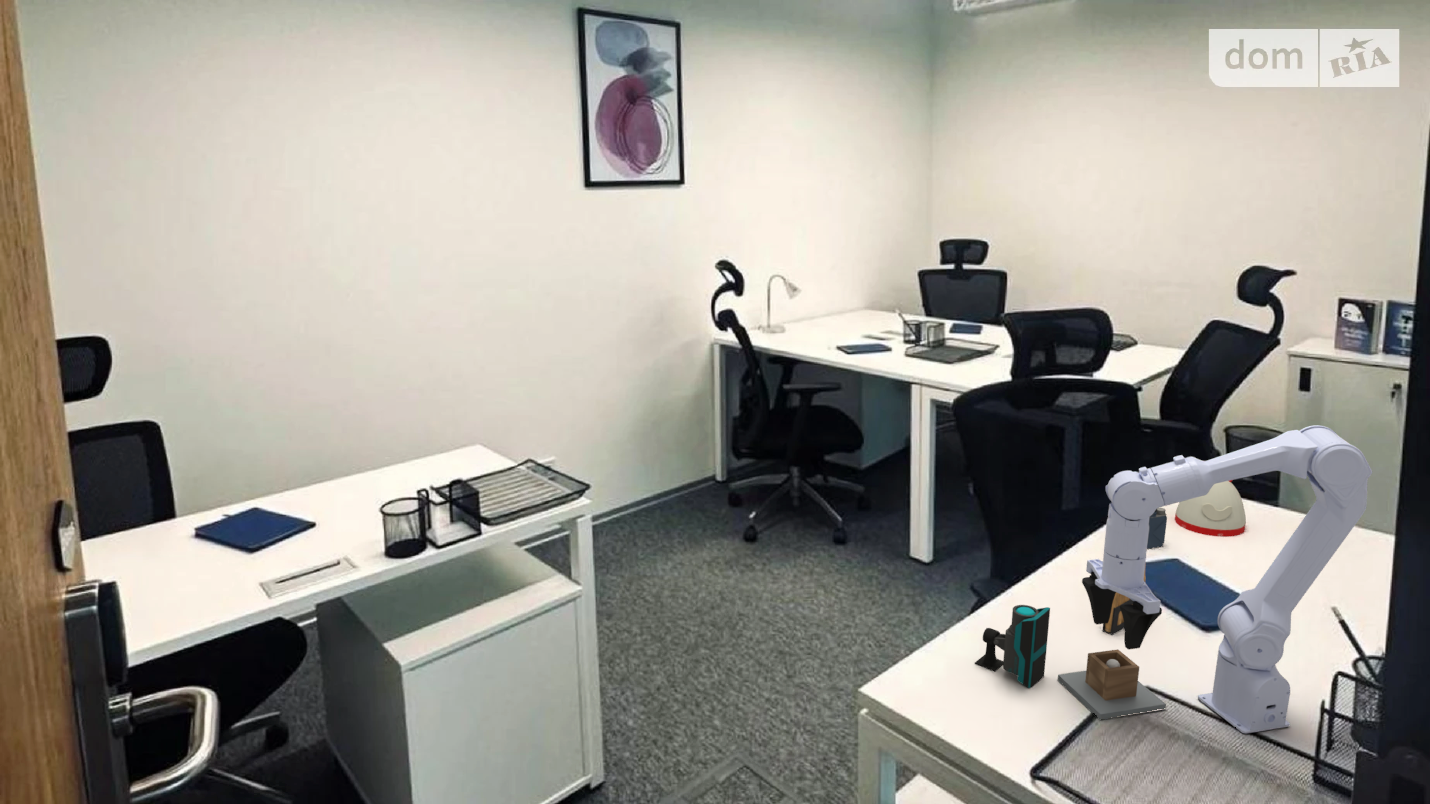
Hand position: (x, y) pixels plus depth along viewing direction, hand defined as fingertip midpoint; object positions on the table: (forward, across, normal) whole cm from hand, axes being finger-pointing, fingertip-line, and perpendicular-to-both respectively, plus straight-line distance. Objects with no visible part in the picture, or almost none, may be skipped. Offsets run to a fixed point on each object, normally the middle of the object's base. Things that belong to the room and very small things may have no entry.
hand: (1116, 634), depth 137 cm
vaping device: (+10, -47, +43) cm, 65 cm away
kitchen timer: (+11, -54, +63) cm, 84 cm away
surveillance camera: (+10, -10, -12) cm, 19 cm away
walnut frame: (+9, 0, 0) cm, 9 cm away
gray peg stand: (+10, 0, 0) cm, 10 cm away
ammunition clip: (+10, -19, +16) cm, 27 cm away
